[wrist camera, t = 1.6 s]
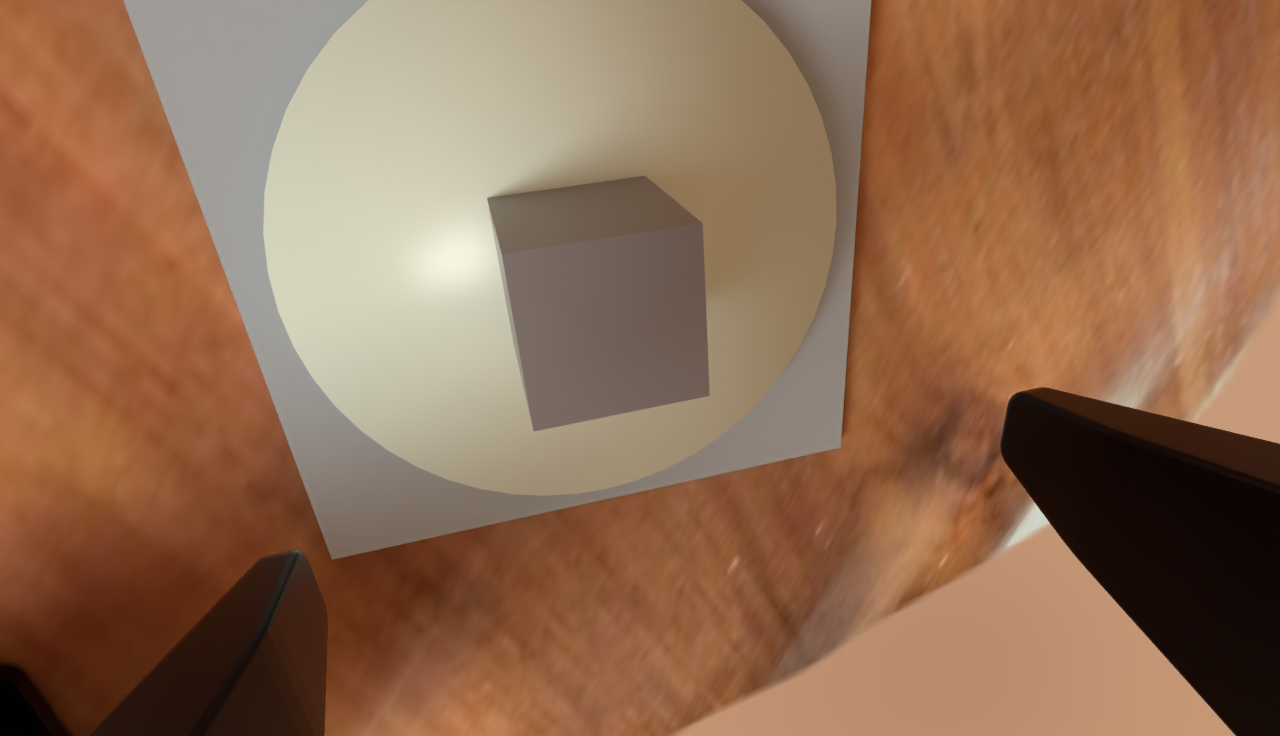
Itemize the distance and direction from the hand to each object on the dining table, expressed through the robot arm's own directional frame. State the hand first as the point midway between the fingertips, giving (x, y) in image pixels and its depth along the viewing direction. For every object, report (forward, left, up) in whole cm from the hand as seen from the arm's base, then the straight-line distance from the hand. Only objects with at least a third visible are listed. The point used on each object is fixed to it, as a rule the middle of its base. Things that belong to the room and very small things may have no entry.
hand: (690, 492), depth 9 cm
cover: (0, 0, -10) cm, 10 cm away
